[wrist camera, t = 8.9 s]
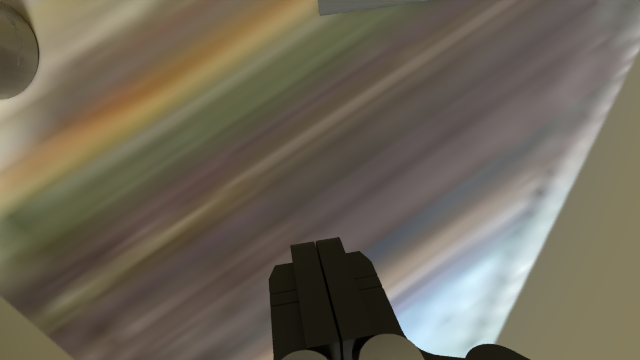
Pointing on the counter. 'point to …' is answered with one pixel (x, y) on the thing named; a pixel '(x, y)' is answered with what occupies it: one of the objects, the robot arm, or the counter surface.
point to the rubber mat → (356, 5)
